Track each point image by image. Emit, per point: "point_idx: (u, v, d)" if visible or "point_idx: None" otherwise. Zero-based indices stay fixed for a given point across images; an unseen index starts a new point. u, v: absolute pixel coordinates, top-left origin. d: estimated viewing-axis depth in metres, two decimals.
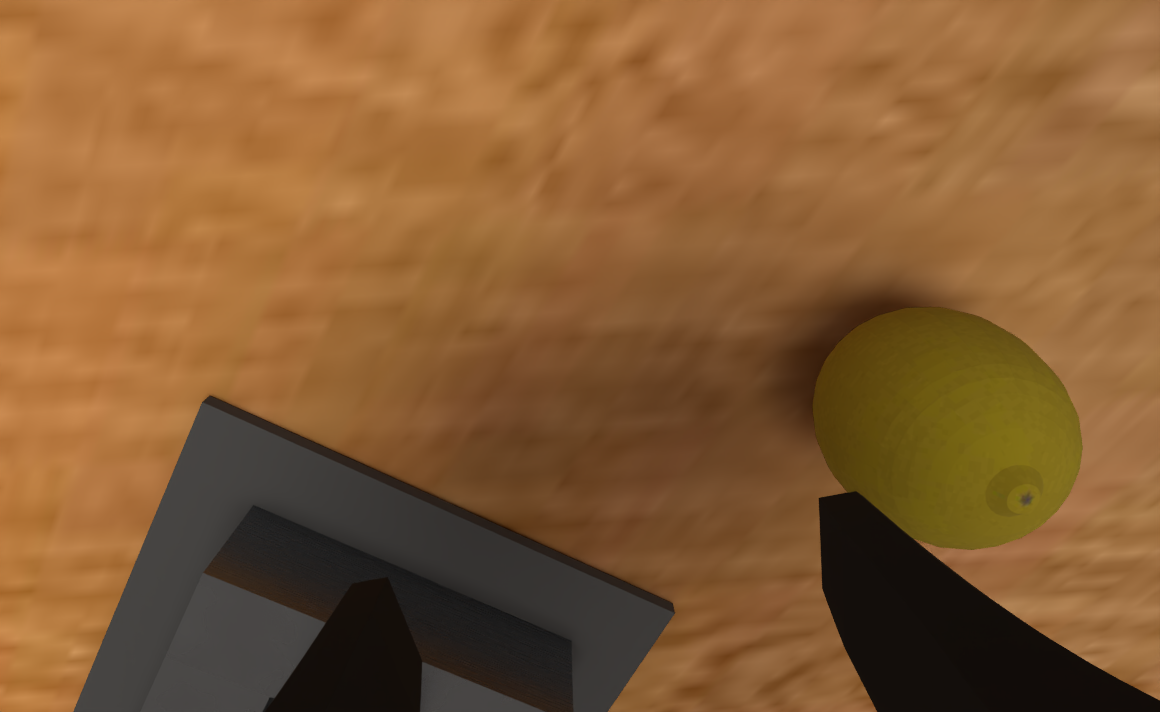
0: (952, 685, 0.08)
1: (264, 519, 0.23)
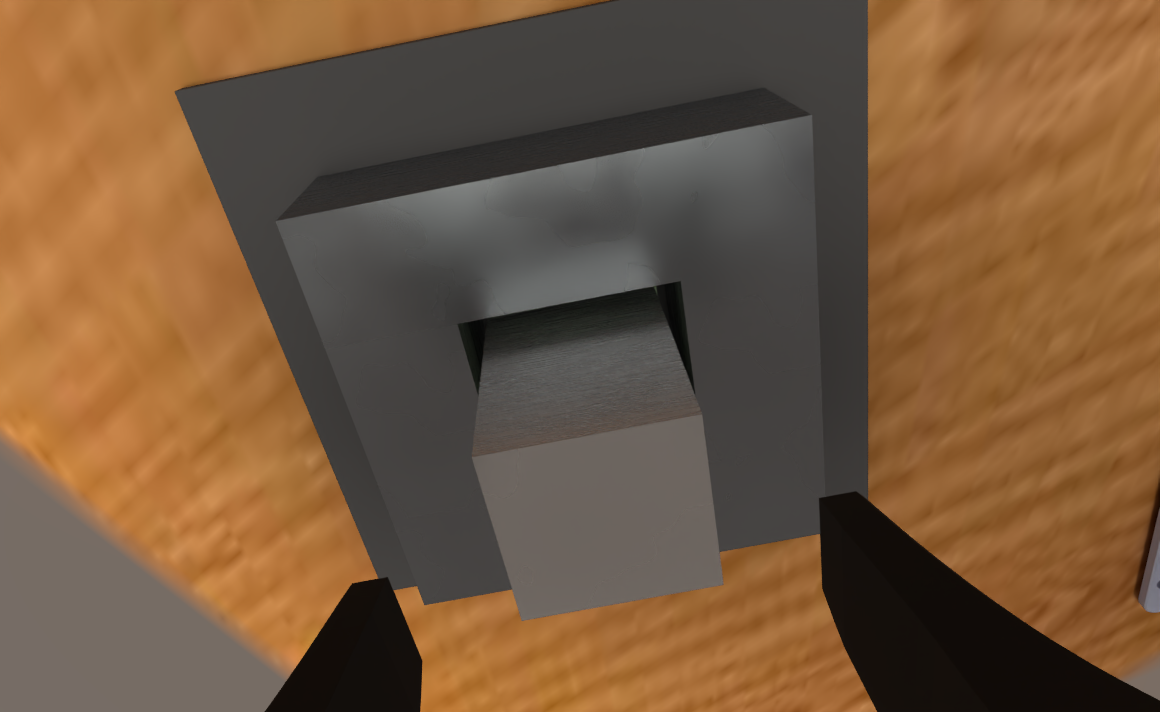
0: (952, 685, 0.08)
1: (334, 177, 0.18)
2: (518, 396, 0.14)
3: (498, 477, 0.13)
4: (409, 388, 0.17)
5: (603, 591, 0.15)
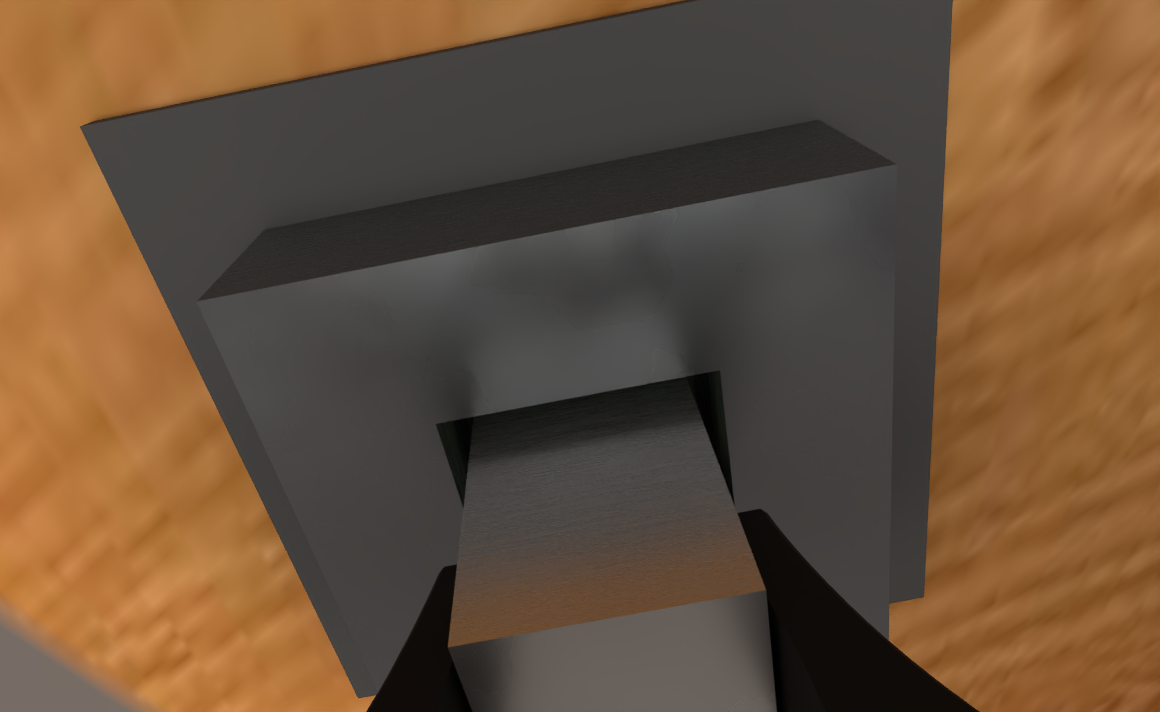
0: (816, 709, 0.08)
1: (283, 232, 0.15)
2: (513, 541, 0.11)
3: (484, 670, 0.10)
4: (376, 499, 0.14)
5: None
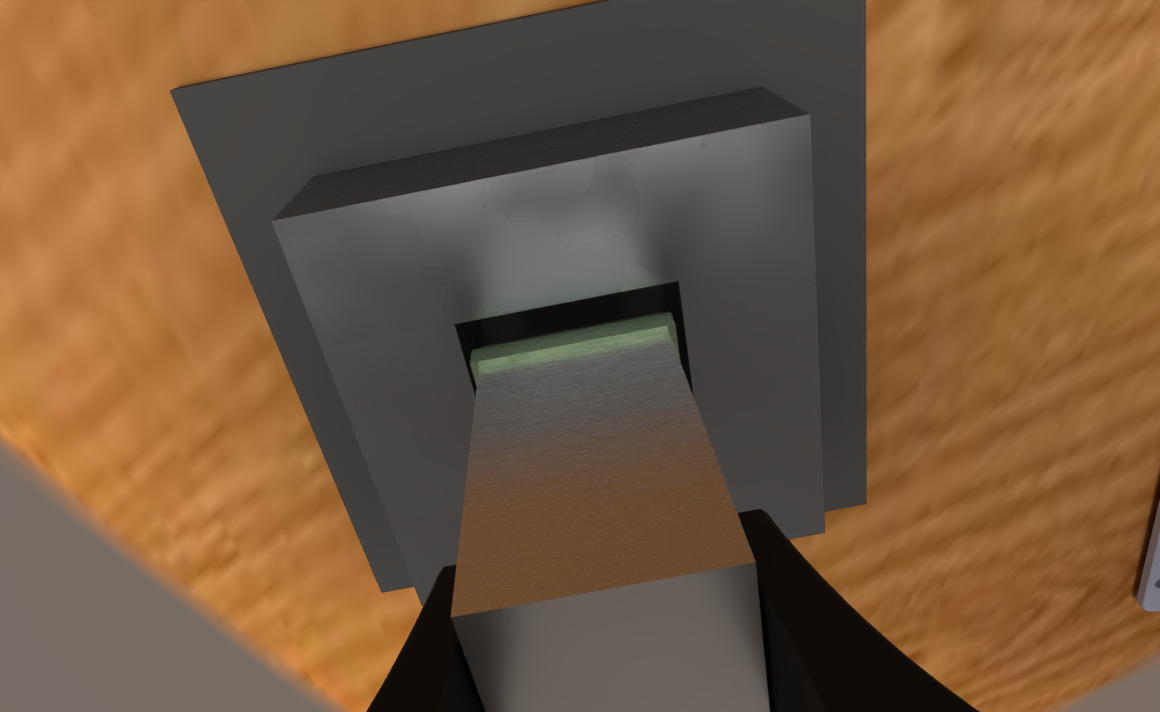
0: (816, 709, 0.08)
1: (330, 176, 0.18)
2: (513, 519, 0.11)
3: (485, 639, 0.10)
4: (406, 388, 0.17)
5: None
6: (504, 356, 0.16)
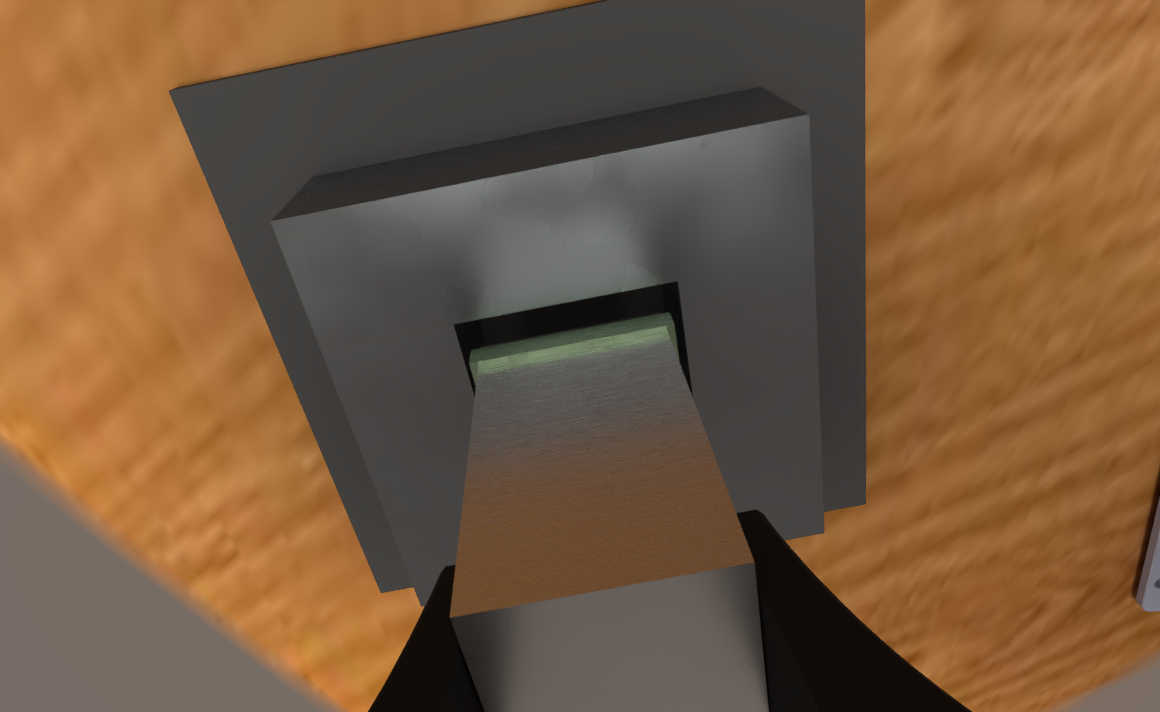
0: (810, 710, 0.08)
1: (329, 177, 0.18)
2: (512, 519, 0.11)
3: (484, 640, 0.10)
4: (405, 388, 0.17)
5: None
6: (503, 356, 0.16)
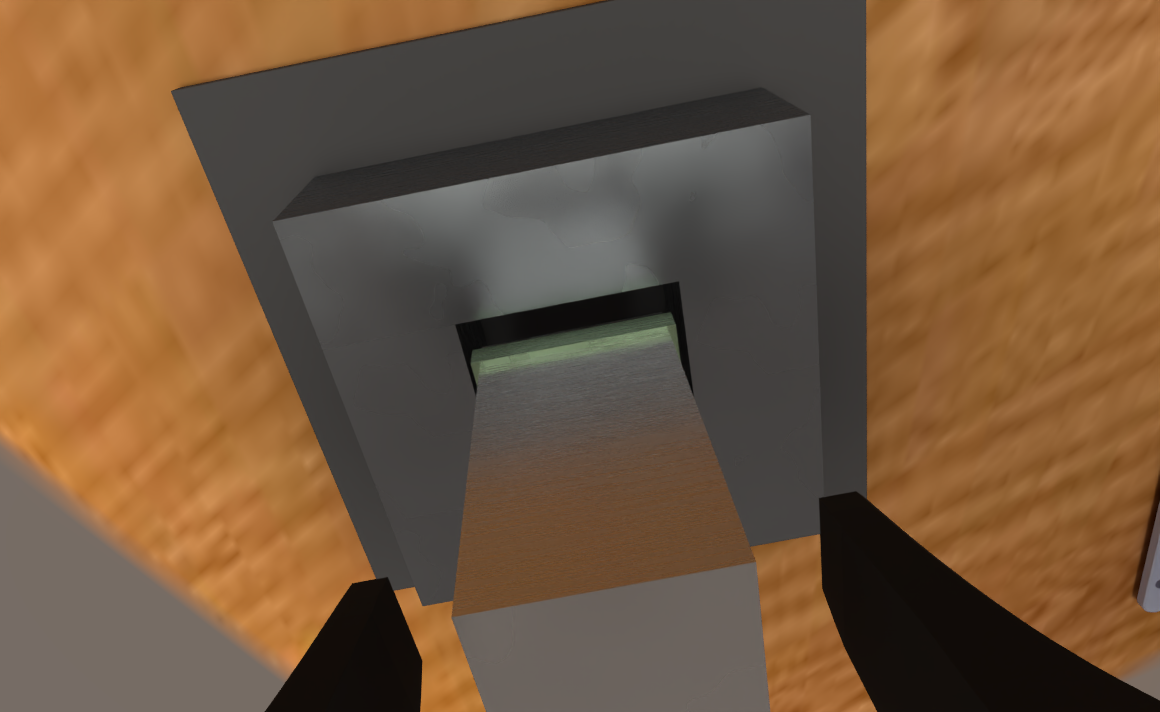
0: (952, 685, 0.08)
1: (331, 177, 0.18)
2: (514, 520, 0.11)
3: (485, 640, 0.10)
4: (407, 388, 0.17)
5: None
6: (505, 356, 0.16)
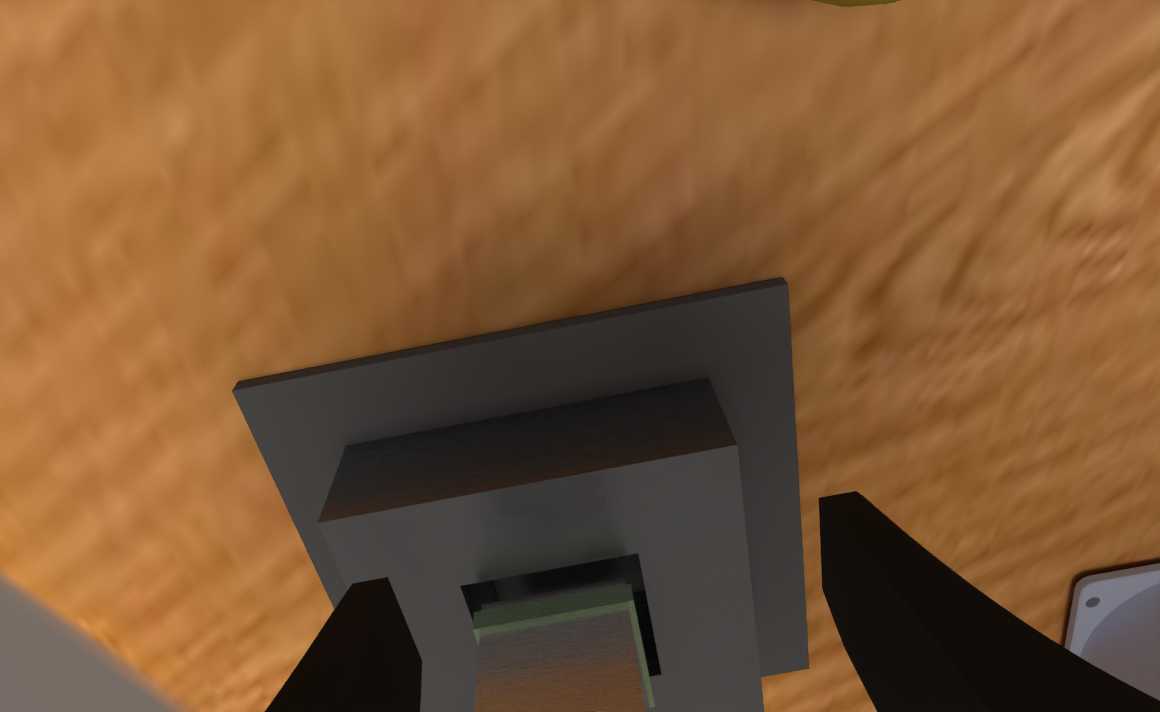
0: (952, 685, 0.08)
1: (359, 451, 0.22)
2: None
3: None
4: (421, 629, 0.22)
5: None
6: (499, 623, 0.20)
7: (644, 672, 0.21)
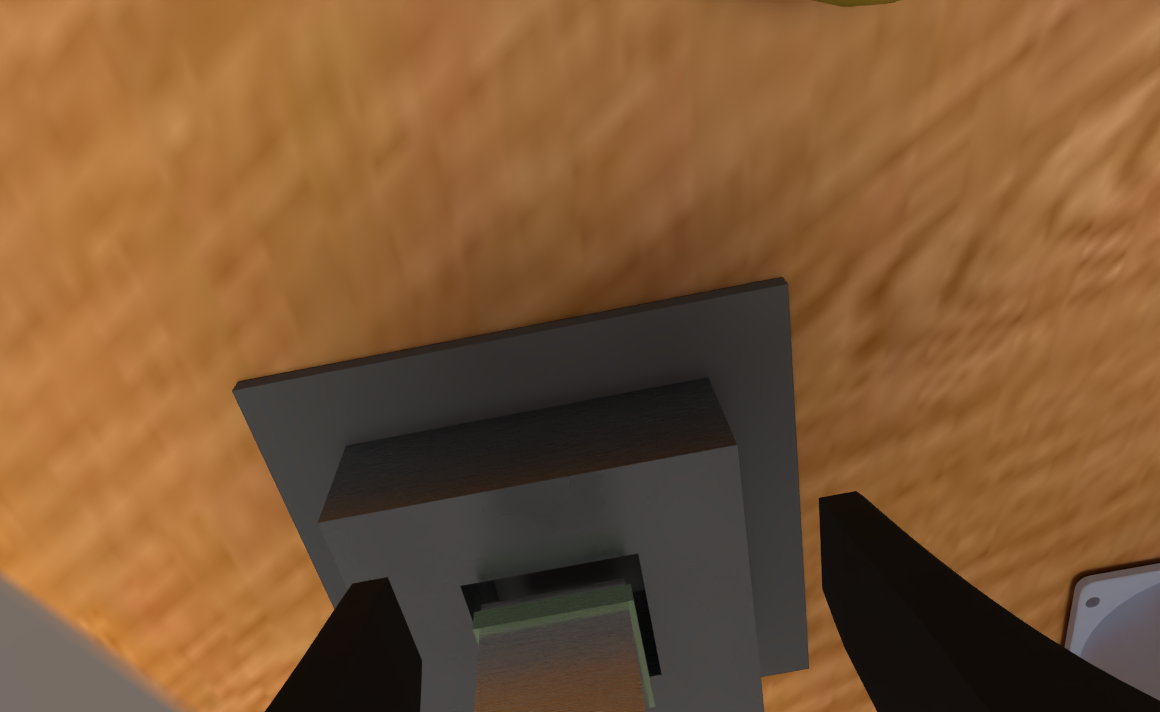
0: (952, 685, 0.08)
1: (359, 451, 0.22)
2: None
3: None
4: (421, 629, 0.22)
5: None
6: (499, 623, 0.20)
7: (644, 672, 0.21)
